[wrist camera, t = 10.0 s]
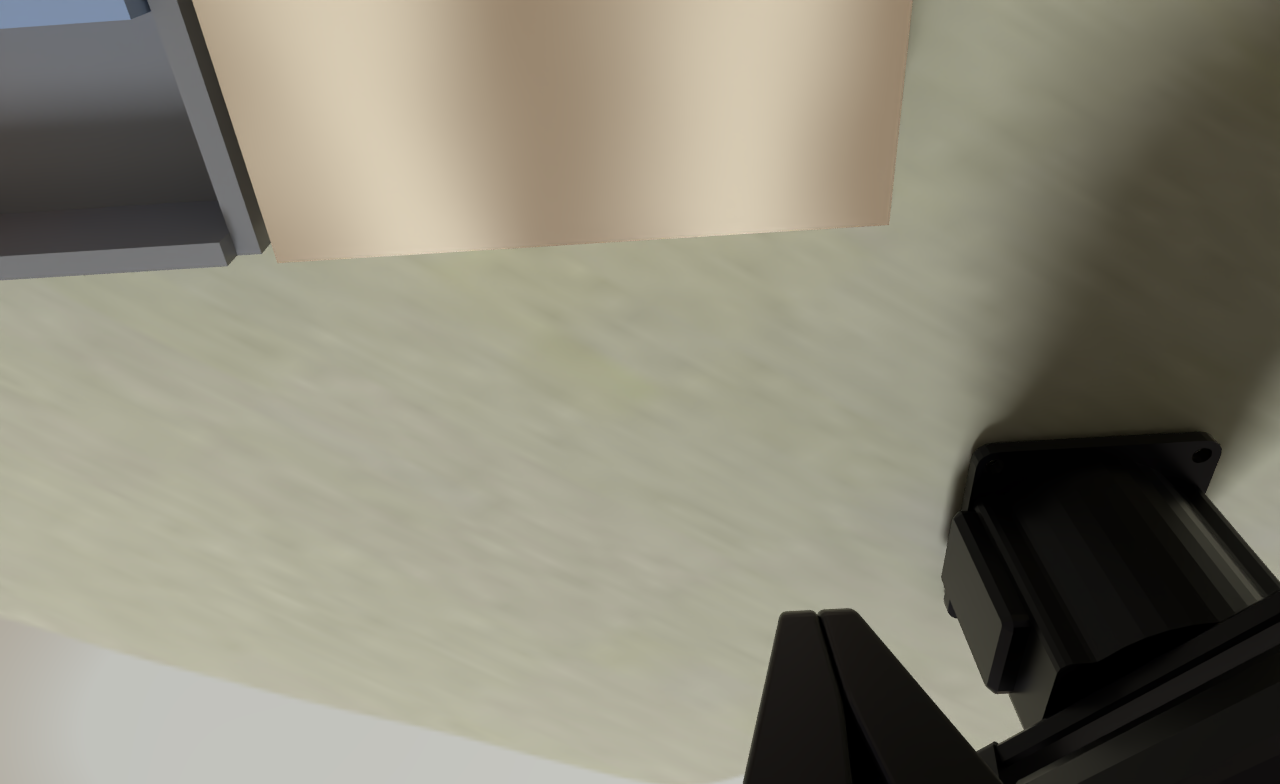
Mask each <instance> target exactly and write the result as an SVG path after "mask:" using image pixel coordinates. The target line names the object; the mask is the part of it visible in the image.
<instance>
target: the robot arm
mask: <svg viewBox="0 0 1280 784" xmlns="http://www.w3.org/2000/svg"><path fill="white" fill-rule="evenodd" d="M1199 449H1201V450H1200V451H1198V450H1199ZM1221 450H1222V449H1221V446H1220V444H1219V443H1218V442H1217V441H1216V440H1215V439H1214V438H1213V437H1212V436H1211V435H1210V434H1208V433H1206V432H1185V433H1167V434H1149V435H1131V436H1113V437H1095V438H1077V439H1059V440H1041V441H1023V442H1005V443H991V444H986V445H984V446H982V447H980V448H978V449H977V450H976V451H975V452H974V453H973V456H972V458H971V462H970V467H969V472H968V477H967V482H966V487H965V492H964V498H963V503H962V508H961V511H958V512H957V514H956V515H955V516H954V517H953V519H952V523H951V528H950V533H949V539H948V544H947V549H946V555H945V560H944V565H943V571H942V576H941V578H942V582H943V584H944V587H945V589H946V590H945V595H944V603H945V606H946V608H947V611H948V613H949V614H950V616H952V617H954V618H957V619H958V621H959V623H960V626H961V628H962V630H963V633H964V635H965V638H966V640H967V643H968V645H969V647H970V650H971V652H972V655H973V657H974V660H975V662H976V664H977V667H978V669H979V672H980V674H981V677H982V679H983V682H984V684H985V686H986V687H987V688H988V689H990V690H991V691H992V692H993V693H995V694H1006V693H1008V694H1009V697H1010V699H1011V701H1012V704H1013V706H1014V708H1015V711H1016V713H1017V715H1018V717H1019V720H1020V722H1021V724H1022V727H1023V729H1024V730H1023V731H1021V732H1019V733H1017V734H1016V735H1014V736H1012V737H1010V738H1008V739H1007V740H1005V741H1003V742H1001V743H999V744H998V743H997V742H993V743H991V744H989V745H987V746H986V747H984V748H982V749H980V750H978V751H977V752H976V751H975V750H974V749H973V747H972V746H971V745H970V744H969V743H968V742H967V740H966V739H965V738H964V737H963V736H962V734H961V733H960V732H959V731H958V730H957V729H956V727H955V726H954V725H953V724H952V723H951V722H950V720H949V719H948V718H947V717H946V716H945V715H944V713H943V712H942V711H941V710H940V709H939V707H938V706H937V705H936V704H935V703H934V702H933V700H932V699H931V698H930V697H929V696H928V695H927V693H926V692H925V691H924V690H923V689H922V687H921V686H920V685H919V684H918V683H917V682H916V680H915V679H914V678H913V677H912V676H911V675H910V673H909V672H908V671H907V670H906V669H905V667H904V666H903V665H902V664H901V663H900V662H899V660H898V659H897V658H896V657H895V656H894V655H893V653H892V652H891V651H890V650H889V649H888V648H887V646H886V645H885V644H884V643H883V642H882V640H881V639H880V638H879V637H878V636H877V635H876V633H875V632H874V631H873V630H872V629H871V628H870V626H869V625H868V624H867V623H866V622H865V620H864V619H863V618H862V617H861V616H860V615H859V614H858V613H857V612H856V611H855V610H853V609H849V608H843V609H824V610H821V611H819V612H818V614H816V613H815V612H814V611H811V610H804V611H786V612H783V613H781V615H780V617H779V621H778V625H777V630H776V634H775V639H774V643H773V648H772V652H771V657H770V662H769V666H768V671H767V675H766V680H765V684H764V689H763V694H762V698H761V703H760V707H759V712H758V716H757V721H756V725H755V730H754V735H753V739H752V744H751V748H750V753H749V757H748V762H747V767H746V771H745V776H744V781H743V784H1280V581H1279V580H1278V579H1277V578H1276V577H1275V576H1274V574H1273V573H1272V572H1271V571H1270V570H1269V568H1268V567H1267V566H1266V565H1265V564H1264V563H1263V561H1262V560H1261V559H1260V558H1259V557H1258V556H1257V554H1256V553H1255V552H1254V551H1253V550H1252V549H1251V547H1250V546H1249V545H1248V544H1247V543H1246V541H1245V540H1244V539H1243V538H1242V537H1241V536H1240V534H1239V533H1238V532H1237V531H1236V530H1235V529H1234V527H1233V526H1232V525H1231V524H1230V523H1229V522H1228V520H1227V519H1226V518H1225V517H1224V516H1223V514H1222V513H1221V512H1220V511H1219V510H1218V509H1217V507H1216V506H1215V505H1214V504H1213V503H1212V502H1211V500H1210V499H1209V498H1208V497H1207V496H1206V495H1205V493H1206V491H1207V488H1208V486H1209V483H1210V481H1211V478H1212V476H1213V473H1214V471H1215V468H1216V466H1217V463H1218V461H1219V458H1220V456H1221ZM1196 451H1198V452H1197V453H1195V452H1196ZM996 459H997V461H996V462H995V463H994V464H991V465H987V463H989V462H990V461H992V460H996Z"/></svg>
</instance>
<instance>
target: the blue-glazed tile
mask: <svg viewBox="0 0 1280 784" xmlns="http://www.w3.org/2000/svg"><path fill="white" fill-rule="evenodd" d="M148 12H151V9H150V6H149V4H148V1H147V0H0V29H5V28H19V27H33V26H47V25H61V24H75V23H90V22H104V21H118V20H131V19H134V18H136V17H138V16H141V15H143V14H146V13H148Z"/></svg>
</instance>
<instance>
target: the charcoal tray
mask: <svg viewBox="0 0 1280 784" xmlns="http://www.w3.org/2000/svg"><path fill="white" fill-rule="evenodd" d="M147 1H148V4H149V6H150V9H151V12H148V13H146V14H143V15H141V16H138V17H136V18H134V19H131V20H118V21H104V22H90V23H75V24H61V25H47V26H33V27H19V28H5V29H0V280H12V279H28V278H44V277H60V276H76V275H92V274H108V273H124V272H140V271H157V270H173V269H189V268H205V267H221V266H228V265H229V264H230V263H231V262H232V261H233V259H234V258H235V257H236V256H237V255H251V254H262V253H263V252H264V250H265V249H266V248H267V247H268V246H269V244H270V243H271V241H270V238H269V235H268V232H267V229H266V226H265V223H264V220H263V217H262V214H261V211H260V207H259V204H258V201H257V198H256V195H255V192H254V189H253V186H252V183H251V180H250V177H249V174H248V171H247V168H246V164H245V161H244V158H243V155H242V152H241V149H240V146H239V143H238V140H237V137H236V134H235V131H234V128H233V125H232V121H231V118H230V115H229V112H228V109H227V106H226V103H225V100H224V97H223V94H222V91H221V88H220V85H219V81H218V78H217V75H216V72H215V69H214V66H213V63H212V60H211V57H210V54H209V51H208V48H207V45H206V42H205V38H204V35H203V32H202V29H201V26H200V23H199V20H198V17H197V14H196V11H195V8H194V5H193V2H192V0H147Z"/></svg>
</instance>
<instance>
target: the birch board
mask: <svg viewBox="0 0 1280 784" xmlns="http://www.w3.org/2000/svg"><path fill="white" fill-rule="evenodd" d="M192 2H193V5H194V8H195V11H196V14H197V17H198V20H199V23H200V26H201V29H202V32H203V35H204V38H205V42H206V45H207V48H208V51H209V54H210V57H211V60H212V63H213V66H214V69H215V72H216V75H217V78H218V81H219V85H220V88H221V91H222V94H223V97H224V100H225V103H226V106H227V109H228V112H229V115H230V118H231V121H232V125H233V128H234V131H235V134H236V137H237V140H238V143H239V146H240V149H241V152H242V155H243V158H244V161H245V164H246V168H247V171H248V174H249V177H250V180H251V183H252V186H253V189H254V192H255V195H256V198H257V201H258V204H259V207H260V211H261V214H262V217H263V220H264V223H265V226H266V229H267V232H268V235H269V238H270V241H271V244H272V247H273V251H274V254H275V257H276V260H277V263H285V262H301V261H317V260H333V259H349V258H365V257H381V256H397V255H413V254H430V253H446V252H462V251H478V250H494V249H510V248H526V247H542V246H558V245H574V244H590V243H606V242H622V241H638V240H654V239H670V238H686V237H703V236H719V235H735V234H751V233H767V232H783V231H799V230H815V229H831V228H847V227H863V226H879V225H889V219H890V210H891V201H892V191H893V182H894V172H895V163H896V153H897V144H898V135H899V125H900V116H901V106H902V97H903V87H904V78H905V68H906V59H907V50H908V40H909V31H910V21H911V12H912V2H913V0H192Z"/></svg>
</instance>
